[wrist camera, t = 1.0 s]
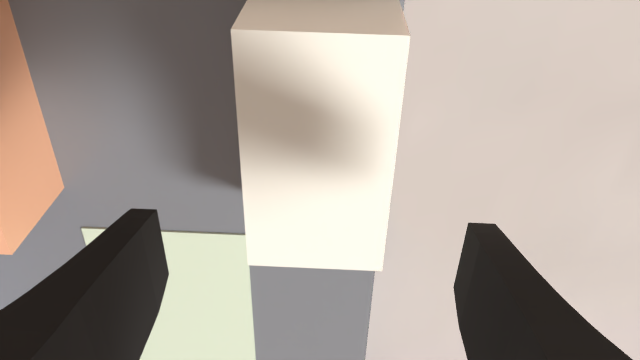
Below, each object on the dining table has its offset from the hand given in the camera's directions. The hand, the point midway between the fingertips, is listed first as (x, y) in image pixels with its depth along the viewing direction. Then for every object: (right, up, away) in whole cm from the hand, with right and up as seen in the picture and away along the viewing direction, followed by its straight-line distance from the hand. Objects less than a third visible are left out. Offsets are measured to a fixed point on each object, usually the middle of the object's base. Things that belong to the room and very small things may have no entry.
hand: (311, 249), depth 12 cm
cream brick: (0, +4, +6) cm, 8 cm away
